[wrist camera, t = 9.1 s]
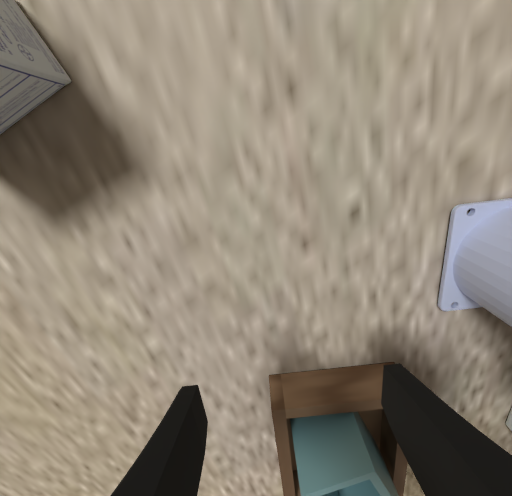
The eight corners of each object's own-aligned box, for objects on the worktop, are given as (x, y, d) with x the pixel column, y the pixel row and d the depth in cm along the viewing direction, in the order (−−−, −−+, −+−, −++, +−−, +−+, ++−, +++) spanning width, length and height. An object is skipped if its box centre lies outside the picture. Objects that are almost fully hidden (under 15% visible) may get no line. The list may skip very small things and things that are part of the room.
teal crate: (344, 389, 22) (375, 471, 17) (376, 443, 25) (413, 530, 19) (289, 411, 23) (301, 496, 18) (326, 461, 26) (347, 550, 20)
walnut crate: (393, 361, 22) (416, 395, 19) (385, 460, 27) (402, 500, 24) (269, 375, 22) (271, 410, 19) (282, 470, 27) (285, 511, 24)
